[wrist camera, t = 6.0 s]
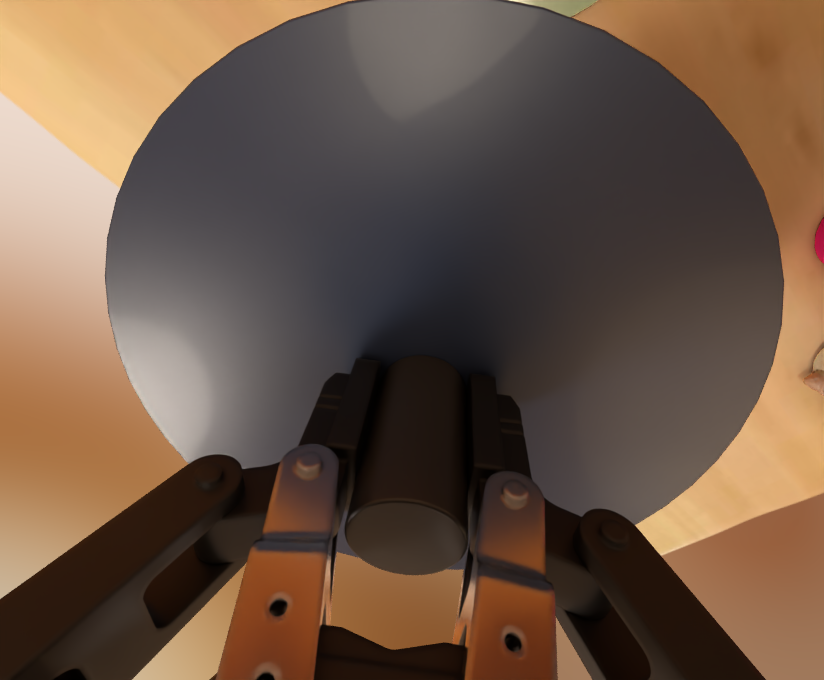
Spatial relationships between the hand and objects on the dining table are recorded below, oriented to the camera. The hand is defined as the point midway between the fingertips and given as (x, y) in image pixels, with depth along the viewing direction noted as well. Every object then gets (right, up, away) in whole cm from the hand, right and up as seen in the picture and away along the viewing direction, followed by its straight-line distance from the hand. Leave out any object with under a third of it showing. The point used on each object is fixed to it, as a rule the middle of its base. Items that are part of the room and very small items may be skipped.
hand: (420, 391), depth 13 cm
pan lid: (0, 0, 0) cm, 1 cm away
